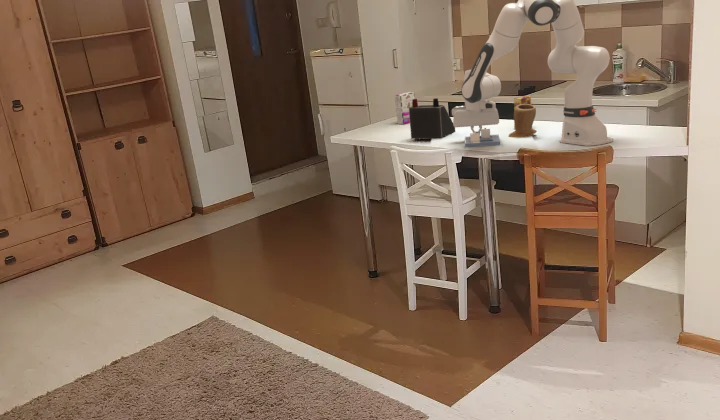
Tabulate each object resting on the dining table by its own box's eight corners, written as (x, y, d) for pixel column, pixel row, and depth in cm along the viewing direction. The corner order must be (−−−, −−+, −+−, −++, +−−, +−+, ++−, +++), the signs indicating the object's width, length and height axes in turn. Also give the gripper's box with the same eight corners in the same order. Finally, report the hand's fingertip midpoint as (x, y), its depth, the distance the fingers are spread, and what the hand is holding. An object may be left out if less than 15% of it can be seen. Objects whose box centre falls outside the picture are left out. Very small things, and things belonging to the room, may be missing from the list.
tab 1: (479, 143, 289) (479, 131, 287) (479, 144, 286) (479, 132, 285) (470, 143, 289) (469, 132, 288) (470, 145, 287) (469, 133, 285)
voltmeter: (455, 134, 323) (453, 93, 317) (442, 141, 309) (439, 99, 304) (425, 134, 331) (423, 94, 325) (411, 141, 318) (408, 99, 312)
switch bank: (498, 140, 298) (498, 133, 297) (500, 148, 283) (500, 141, 282) (465, 143, 300) (464, 136, 299) (465, 150, 285) (464, 143, 284)
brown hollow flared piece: (530, 141, 291) (529, 107, 287) (505, 140, 298) (504, 107, 294) (543, 134, 302) (542, 101, 298) (519, 133, 309) (518, 101, 305)
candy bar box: (410, 120, 376) (408, 91, 371) (417, 121, 372) (414, 92, 367) (396, 124, 369) (394, 94, 364) (403, 124, 365) (400, 95, 360)
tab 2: (490, 138, 295) (489, 127, 294) (490, 140, 293) (490, 128, 291) (481, 139, 296) (480, 128, 295) (481, 140, 293) (480, 129, 292)
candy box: (521, 130, 316) (520, 98, 312) (514, 129, 319) (513, 98, 315) (532, 126, 322) (531, 95, 317) (524, 126, 325) (523, 95, 320)
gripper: (451, 107, 290) (453, 138, 294) (498, 104, 286) (500, 135, 290) (451, 105, 296) (453, 136, 300) (498, 101, 292) (499, 132, 296)
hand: (476, 135), depth 295 cm, fingers closed
